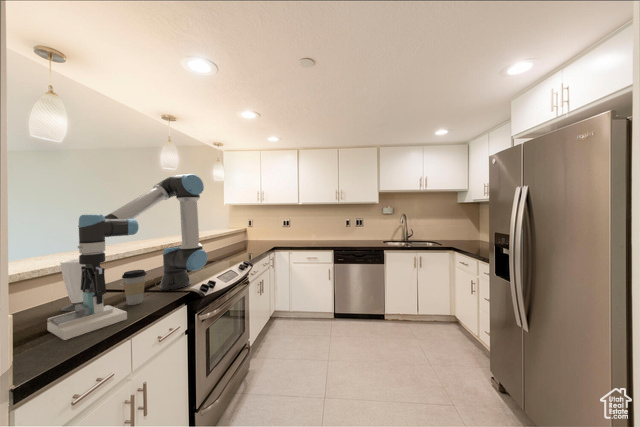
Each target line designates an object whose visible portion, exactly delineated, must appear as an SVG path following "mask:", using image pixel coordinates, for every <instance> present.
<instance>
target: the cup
mask: <svg viewBox="0 0 640 427" xmlns="http://www.w3.org/2000/svg"><path fill="white" fill-rule="evenodd" d="M59 265H60V268H61V274H62V278H63V283H64V286H65V290H66V293H67V296H68V298H69V301H70V302H71V304H68V305H66V306H63V307H62V308H61V309H60V311H61V312H73V311H75V305H77V304H81V305H83V291H82V290H81V276H82V269H81V267H82V266H85V265H82V264H80V263H79V258H72V259H71V258H70V259H65V260H62V261H60V264H59Z"/></svg>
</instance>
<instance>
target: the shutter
mask: <svg viewBox="0 0 640 427" xmlns="http://www.w3.org/2000/svg"><path fill="white" fill-rule="evenodd" d="M85 316H89V308H88V307H86V306H83V305H81V304H77V305H75V313H72V314H68V315H65V316H61V317H58V318H54V319H52V322H54V323H56V324H57V325H58V324H61V323H65V322H68V321H71V320H75V319H78V318H82V317H85Z"/></svg>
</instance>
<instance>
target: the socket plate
mask: <svg viewBox="0 0 640 427" xmlns="http://www.w3.org/2000/svg"><path fill="white" fill-rule="evenodd" d="M103 310H104V311H102V312H99V313H95V314H92V315H89V316H85V317H82V318H78V319H75V320H71V321H68V322H65V323H61V324H58V325H57V324H56V323H54V322H52V319H54V318H58V317H61V316H65V315H68V314H72V313H75V311H69V312H66V313H63V314H59V315H55V316H51V317H49V318H47V322H46V324H47V328H46V329H47V331H48V332H50V333H51V334H53V335H55V336H57V337H58V338H60V339H61V340H63V341H67V340H69V339H71V338H75V337H78V336H82V335H84V334H87V333H90V332H93V331H96V330H99V329H101V328H105V327H107V326H111V325H113V324H117V323H119V322H122V321H126V320H128V312H127V311H126V310H123V309H122V308H121V309H120V308H117V307H114V306H113V305H109V304H107V305H103Z"/></svg>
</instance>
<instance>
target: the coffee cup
mask: <svg viewBox="0 0 640 427" xmlns="http://www.w3.org/2000/svg"><path fill="white" fill-rule="evenodd" d="M146 276H147V272H146V271H145V269H135V270H134V269H133V270H128V271H125V272H124V273H123V274H122V276H121V279H122V280H123V286H124V287H123V288H124V294H125V299H126V305H127V306H134V305H139V304H142V303H143V299H144V292H145V283H146V279H145V278H146Z"/></svg>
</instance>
